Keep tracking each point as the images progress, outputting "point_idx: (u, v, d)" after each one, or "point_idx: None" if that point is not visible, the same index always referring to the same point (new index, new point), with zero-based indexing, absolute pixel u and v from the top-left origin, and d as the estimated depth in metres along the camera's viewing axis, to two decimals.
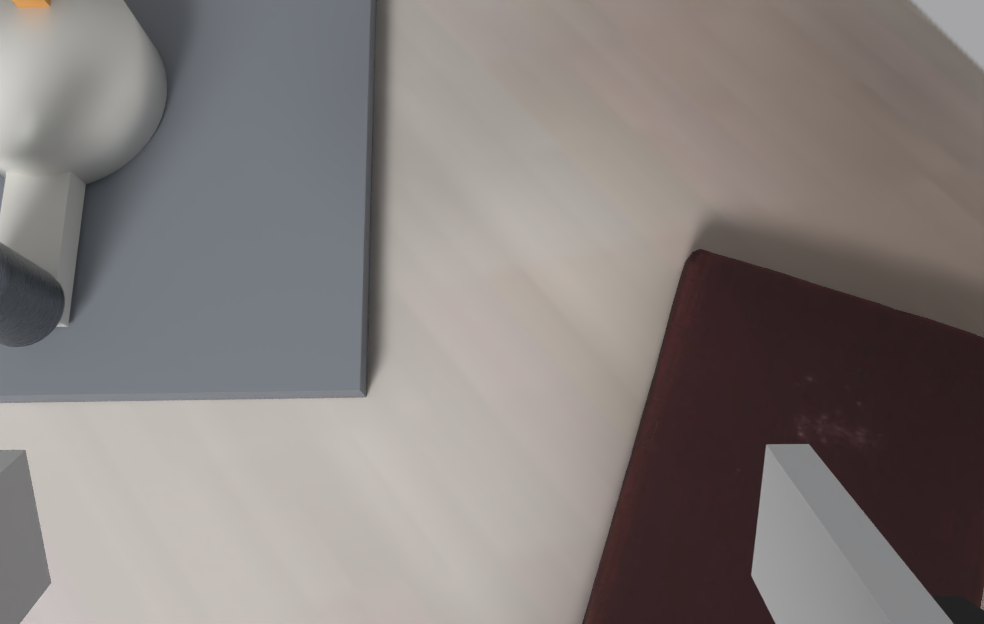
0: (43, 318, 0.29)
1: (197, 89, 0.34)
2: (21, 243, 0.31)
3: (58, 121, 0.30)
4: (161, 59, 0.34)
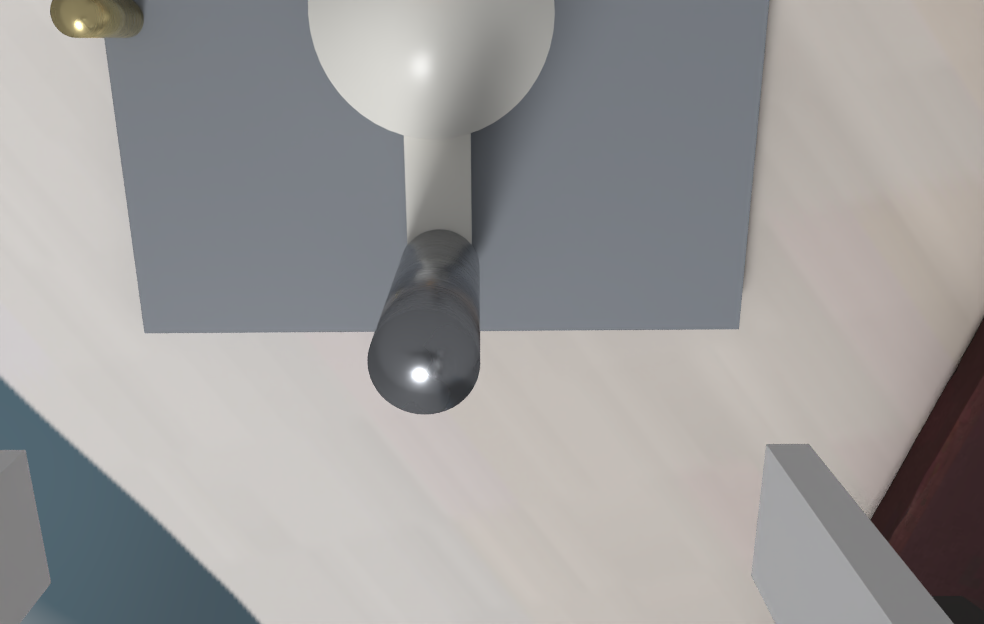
0: None
1: (578, 5, 0.30)
2: (431, 207, 0.31)
3: (477, 100, 0.28)
4: None
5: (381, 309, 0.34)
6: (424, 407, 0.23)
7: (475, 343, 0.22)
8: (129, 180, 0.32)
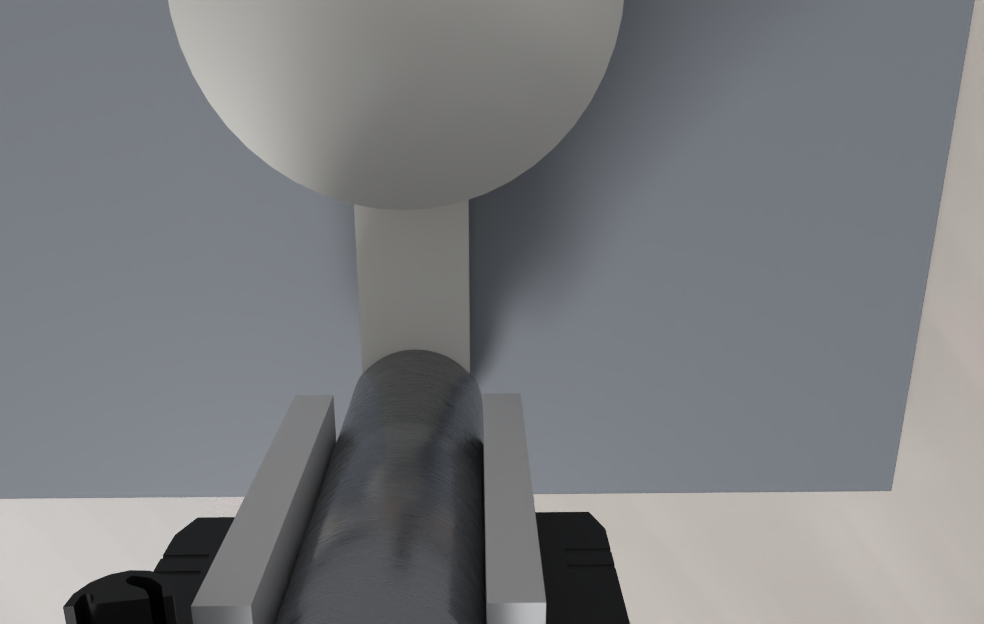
0: None
1: None
2: (402, 313, 0.18)
3: (482, 141, 0.16)
4: None
5: None
6: None
7: None
8: None
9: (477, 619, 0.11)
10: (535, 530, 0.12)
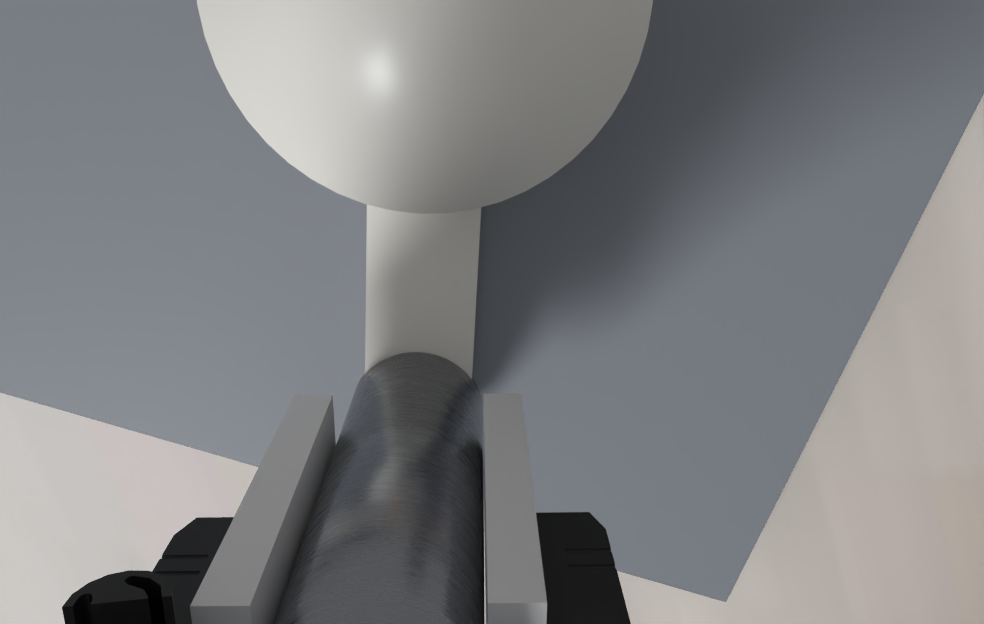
0: None
1: (666, 60, 0.18)
2: (408, 315, 0.19)
3: (500, 150, 0.16)
4: None
5: (202, 416, 0.21)
6: None
7: None
8: None
9: None
10: (536, 530, 0.12)
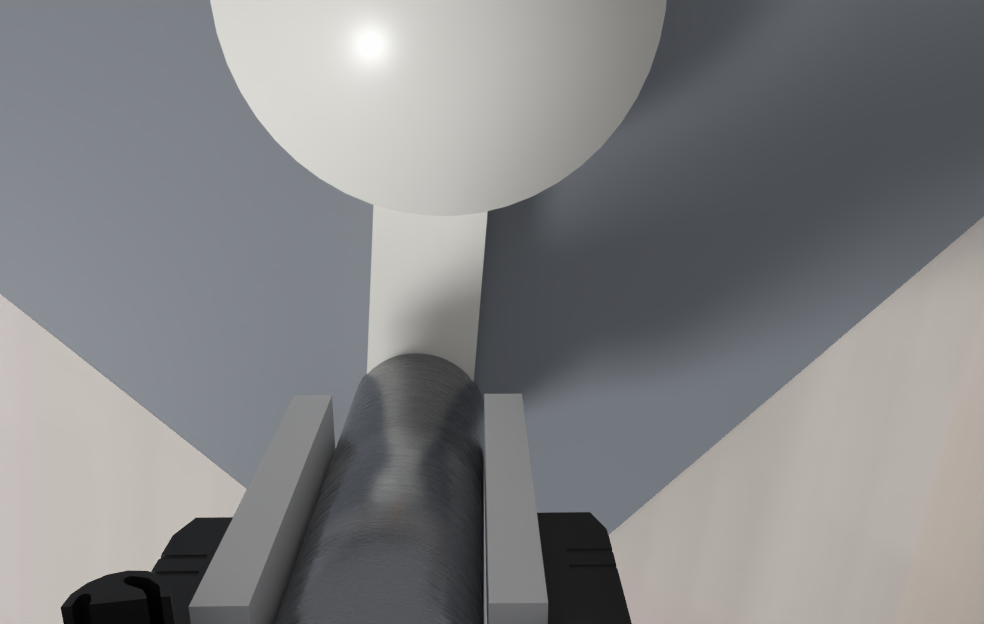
0: None
1: (624, 157, 0.19)
2: (412, 317, 0.19)
3: (509, 154, 0.16)
4: None
5: (41, 280, 0.20)
6: None
7: None
8: None
9: None
10: (537, 530, 0.12)
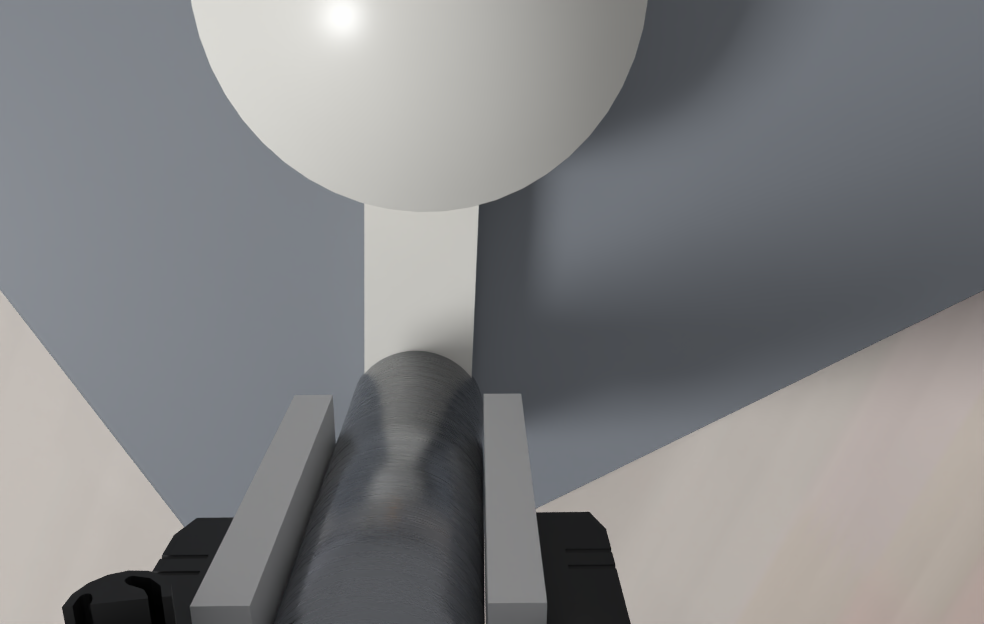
0: None
1: (558, 196, 0.19)
2: (407, 314, 0.18)
3: (497, 147, 0.16)
4: None
5: None
6: None
7: None
8: None
9: None
10: (536, 530, 0.12)
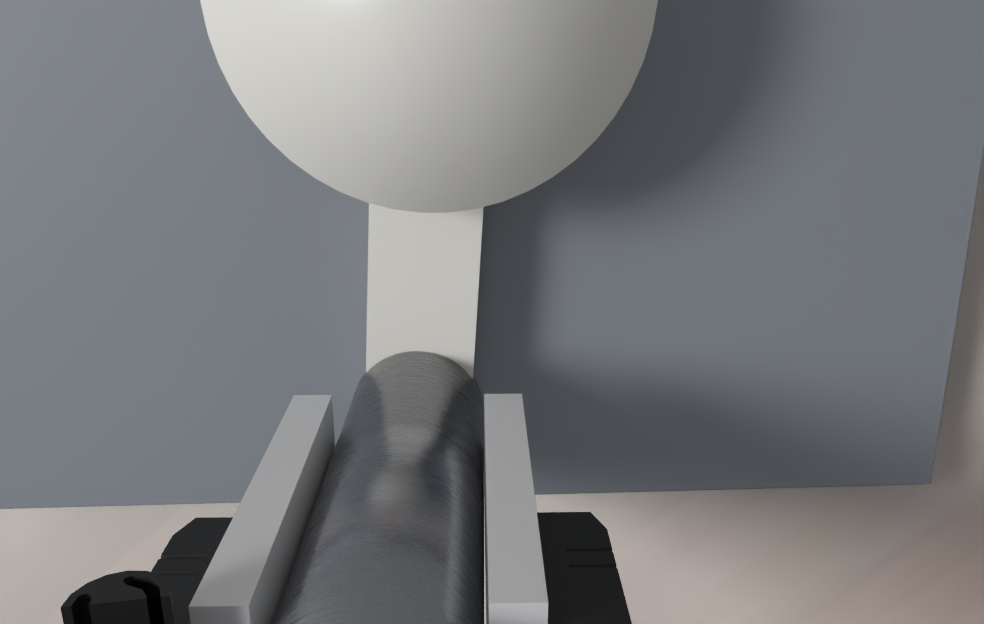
0: None
1: None
2: (410, 314, 0.18)
3: (503, 149, 0.16)
4: None
5: None
6: None
7: None
8: None
9: None
10: (537, 530, 0.12)
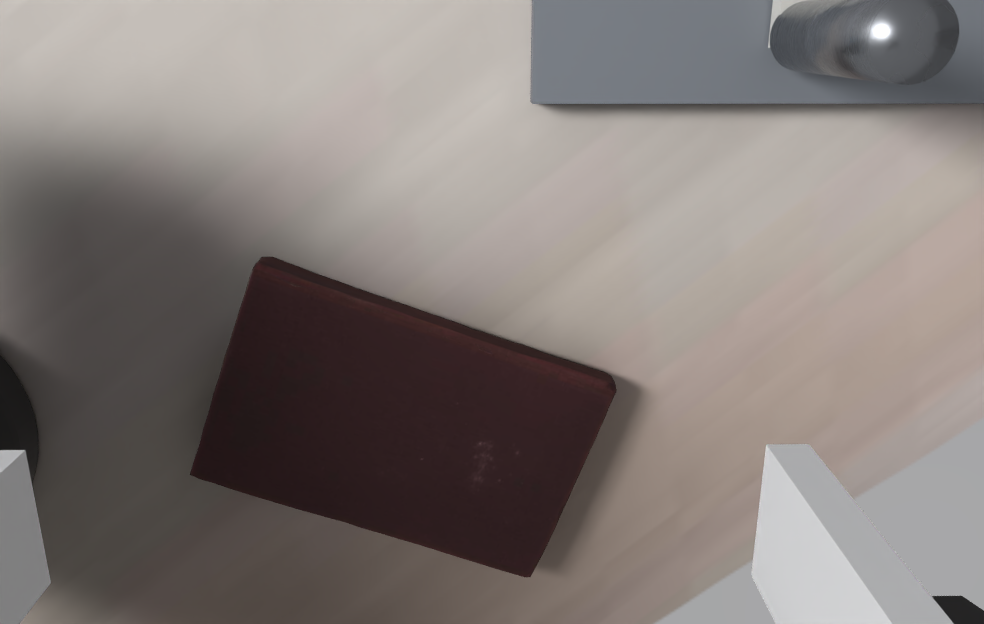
0: None
1: None
2: None
3: None
4: None
5: None
6: (906, 78, 0.28)
7: (957, 21, 0.28)
8: None
9: None
10: None
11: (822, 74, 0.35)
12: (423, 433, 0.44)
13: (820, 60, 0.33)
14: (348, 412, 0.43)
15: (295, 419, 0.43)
